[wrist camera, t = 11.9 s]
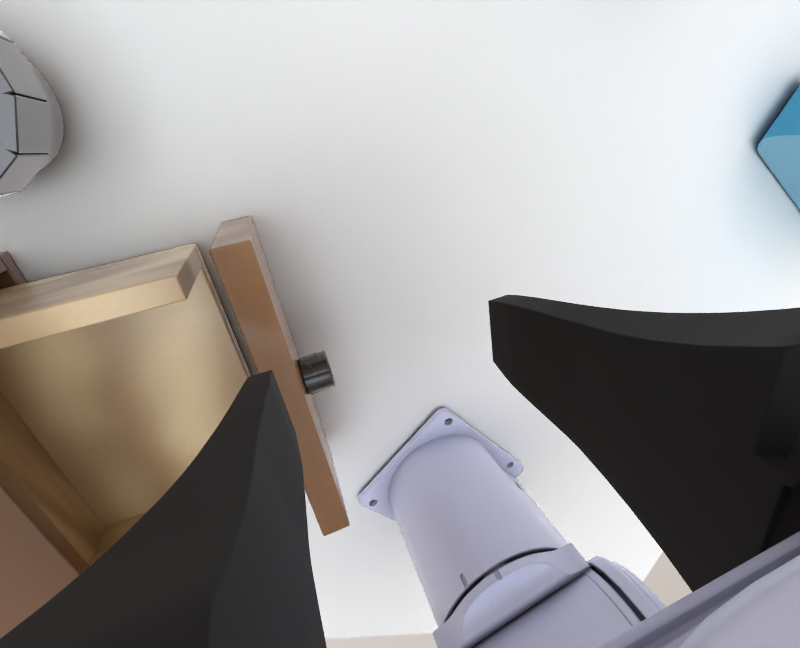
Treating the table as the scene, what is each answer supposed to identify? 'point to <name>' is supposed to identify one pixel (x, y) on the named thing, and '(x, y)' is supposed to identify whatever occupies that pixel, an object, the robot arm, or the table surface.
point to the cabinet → (28, 535)
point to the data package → (785, 147)
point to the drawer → (145, 382)
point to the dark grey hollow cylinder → (25, 120)
